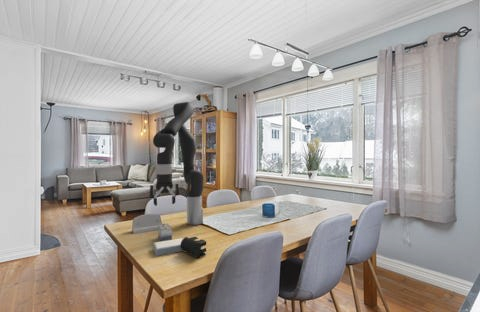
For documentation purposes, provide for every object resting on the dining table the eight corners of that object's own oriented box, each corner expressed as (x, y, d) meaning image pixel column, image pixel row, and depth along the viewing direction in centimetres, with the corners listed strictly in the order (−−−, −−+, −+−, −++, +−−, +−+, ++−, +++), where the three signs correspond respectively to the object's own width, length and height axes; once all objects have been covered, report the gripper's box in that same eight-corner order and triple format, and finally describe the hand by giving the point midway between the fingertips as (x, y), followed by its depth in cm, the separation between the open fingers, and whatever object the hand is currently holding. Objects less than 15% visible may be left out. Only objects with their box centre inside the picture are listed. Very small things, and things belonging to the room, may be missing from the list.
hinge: (133, 234, 138) (131, 215, 140) (131, 234, 141) (130, 216, 144) (163, 228, 146) (162, 211, 149) (161, 229, 150) (160, 212, 153)
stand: (183, 243, 123) (183, 237, 123) (188, 250, 115) (187, 243, 115) (153, 248, 117) (153, 242, 117) (156, 256, 109) (156, 249, 109)
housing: (168, 236, 134) (168, 222, 134) (171, 242, 125) (171, 227, 125) (158, 237, 132) (158, 223, 132) (161, 244, 123) (161, 229, 123)
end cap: (180, 253, 111) (180, 238, 111) (193, 249, 117) (193, 234, 116) (193, 260, 104) (193, 244, 104) (207, 255, 110) (206, 239, 109)
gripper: (176, 171, 134) (176, 202, 135) (148, 173, 128) (148, 204, 128) (180, 173, 127) (180, 204, 128) (150, 174, 121) (150, 207, 121)
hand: (164, 204), depth 128 cm, fingers open, 8 cm apart
